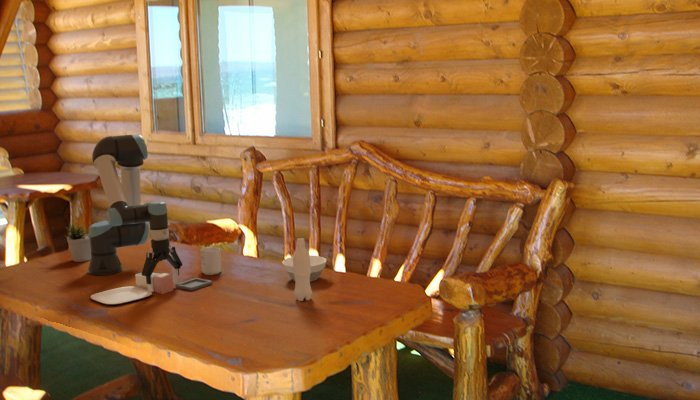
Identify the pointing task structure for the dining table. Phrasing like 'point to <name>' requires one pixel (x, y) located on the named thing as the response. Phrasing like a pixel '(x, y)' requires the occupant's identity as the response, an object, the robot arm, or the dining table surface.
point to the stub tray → (193, 284)
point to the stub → (163, 283)
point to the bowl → (315, 265)
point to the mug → (211, 260)
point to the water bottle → (302, 271)
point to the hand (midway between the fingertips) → (163, 287)
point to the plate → (121, 295)
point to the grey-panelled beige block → (143, 281)
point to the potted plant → (79, 244)
